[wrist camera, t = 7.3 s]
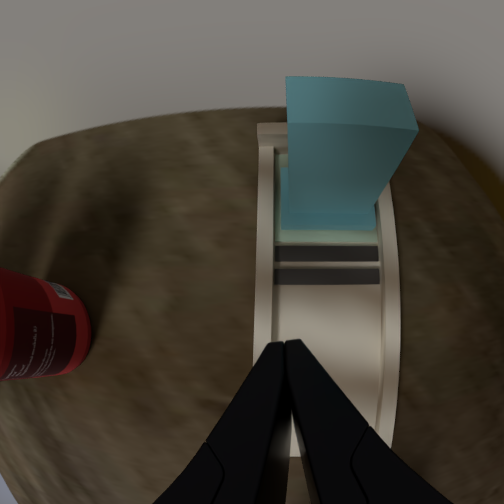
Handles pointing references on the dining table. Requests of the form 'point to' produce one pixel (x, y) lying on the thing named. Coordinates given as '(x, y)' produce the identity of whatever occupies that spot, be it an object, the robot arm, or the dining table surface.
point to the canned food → (40, 327)
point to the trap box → (330, 293)
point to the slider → (341, 150)
